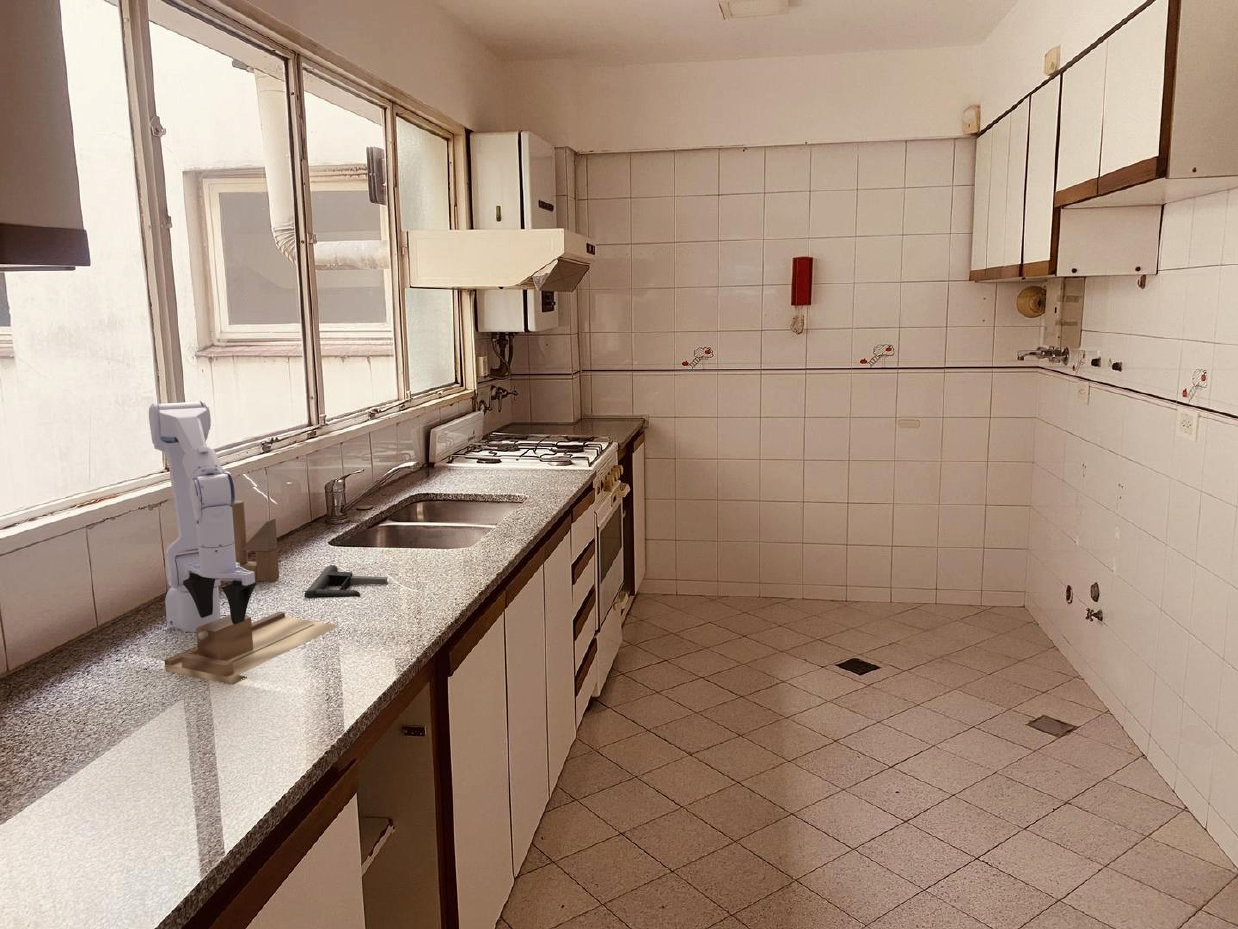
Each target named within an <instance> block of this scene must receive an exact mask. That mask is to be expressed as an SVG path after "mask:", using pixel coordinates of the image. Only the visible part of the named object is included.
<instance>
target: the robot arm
mask: <svg viewBox="0 0 1238 929" xmlns="http://www.w3.org/2000/svg"><path fill="white" fill-rule="evenodd" d="M211 419H212V418H211V411H210V407H209V405H208V403H206V402H205V401H204V400H200V401H189V402H188V401H187V402H172V403H169V402H168V403H154V402H153V403H151V405H150V406H149V408H148V422H149V428H150V435H151V441H152V444H153V447H154V449H155V450H157V451H160V452H163V453H164V456H165V458H166V460H167V465H168V469H169V471H168V472H169V477H170V483H171V491H172V497H173V504H174V511H175V512H174V513H175V518H176V524H177V525H176V526H177V532H178V537H177V538H176V539H175V540H174V541H173V542H171V543H170V544H169V545H168V546H167V547H166V549H165V550H166V551H165V552H164V557H165V575H166V580H167V583H168V586H170V588H169V589H168V590H167V593H166V595H165V600H164V602H165V612H166V613H165V614H166V624H167V629H171V628H175V629H178V630H181V631H184V632H188V633H189V632H193V633H194V632H195V633H196V628H197V627H199V626H202V625H205V624H207V623H210V622H212V621H215V620H218V619H220V618H222V617H221V605H220V604H221V602H220V590H219V586H221V585H222V584H221V581H222V582H223V581H225V582H231V583H230V584H227V585H224V586H222V588H221V589H222V591H223V592H224V595H225V597H226V599H227V604H228V607H229V612H230V613H229V615H231V620H232V623H233V624H238V623H240V622H243V621H244V620H245V615H247V609H248V605H249V603H250V602H249V601H250V599H251V596H252V595H253V592H254V590H255V588H256V586H257V581H255V575H254V572H252V571H248V570H246V569H244V568H242V567H240V563H237V562H236V555H235V542H234V528H233V514H232V507H231V506H230V504H231V505H232V506H234V504H235V500H236V497H237V494H236V486H235V480H234V478H233V476H232V473H231V472H229V471H228V470H227V469H225V470H224V468H223V467H222V464H221V462H220V459H219V456H218V455H217V454H218V453H217V452H216V451H215V449H213V448H211V447H209V446H207V440H208V438H209V433H210V430H211V424H212V420H211ZM194 551H195V552H194ZM196 551H197V552H196ZM186 552H189V553H186ZM180 553H181V554H180ZM183 553H184V554H183Z"/></svg>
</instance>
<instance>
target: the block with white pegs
mask: <svg viewBox="0 0 1238 929" xmlns="http://www.w3.org/2000/svg"><path fill="white" fill-rule="evenodd" d="M251 623H252V616H249V615H248V614H246V615H245V620H244V621H243V622H240V623H238V624H233V623H232V620H231V615H230V614H228V615H226V616H223V617H221V618H220V619H218V620H215V621H212V622H210V623H207V624H205V625H202V626H199V627H197V628H196V632H195V633H196V643H197V645H196V646H198V655H199V656H204V657H209V658H214V659H219V660H224V661H228V660H230V659H232V658H234V657H237V656H239V655H241V654H243V653H246V652H248V651H250V650H252V649H253V637H252V624H251Z"/></svg>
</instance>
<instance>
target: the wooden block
mask: <svg viewBox="0 0 1238 929" xmlns="http://www.w3.org/2000/svg"><path fill="white" fill-rule="evenodd" d="M230 506H231V507H232V514H233V528H234V542H235V555H236V562H237V563H240V567H242V568H244V569H246V570H248V571H252V572H254V575H255V581H256V582H261V583H262V582H263V583H272V582H274V581H277V579H279V578H280V571H279V570H280V568H279V567H280V566H279V557H278V556H279V555H278V552H279V551H278V537H277V523H276V522H277V521H276V518H271V519H270V520H267V521H265V523H264V524H263V525H262V526H261V527H260V528H259V530H257V532H255V534H254V535H253V536H252V537H251V538H250V539H249V540H248V541H247V528H246V527H247V526H246V515H245V514H246V512H245V501H243V500H238V499H237V500H236V499H235V504H234V506H232V505H231V504H230ZM250 551H251V552H255V561H249V557H248V552H250Z"/></svg>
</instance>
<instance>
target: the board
mask: <svg viewBox="0 0 1238 929" xmlns="http://www.w3.org/2000/svg"><path fill="white" fill-rule="evenodd" d="M285 613H286V612H283V611H277V612H275V613H272V614H269V615H268V616H266V617H263V618H260V619H258V620H256V621H253V622H251V624H252V637H253V649H252V650H250V651H248V652H246V653H243V654H241V655H239V656H237V657H234V658H232V659H230V660H228V661H224V660H219V659H214V658H209V657H204V656H199V655H198V646H197V645H196V646H194V647H191V648H189V649H187V650H184V651H182V652H180V653H177V654H175V655H172V656H170V657H168V658H165V659H164V668H165V669H164V670H165V671H166V672H169V673H173V674H174V673H175V674H179V675H184V676H188V675H189V677H193V678H194V677H195V678H197V679H198V678H199V679H202V680H207V681H212V682H217V681H219V682H218V683H221V682H224V683H223V684H226V683H228V685H231V684H232V685H234V684H236V683H238V682H240V681H242V680H244V679H246V678H245V677H246V676H245V675H241V674H243V673H245V672H247V671H249V670H251V669H253V668H256V667H257V666H259V665H261V664H263V663H266V662H268V661H270V660H272V659H274V658H277V657H278V656H280V655H282V654H284V653H287V652H289V651H290V650H293V649H295V648H297V647H299V646H301V645H303V644H305V643H307V642H310V641H311V640H315V638H317V637H320V636H322V635H324V634H326V633H328V632H330V631H332V630H335V629H336V628H337V629H338V628H339V627H340V625H338V624H333V623H326V622H320V621H314V620H309V619H301V618H296V617H289V616H286V614H285ZM203 678H204V679H203ZM243 678H244V679H243ZM241 679H242V680H241ZM237 681H238V682H237ZM235 682H236V683H235ZM233 683H234V684H233Z"/></svg>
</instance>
